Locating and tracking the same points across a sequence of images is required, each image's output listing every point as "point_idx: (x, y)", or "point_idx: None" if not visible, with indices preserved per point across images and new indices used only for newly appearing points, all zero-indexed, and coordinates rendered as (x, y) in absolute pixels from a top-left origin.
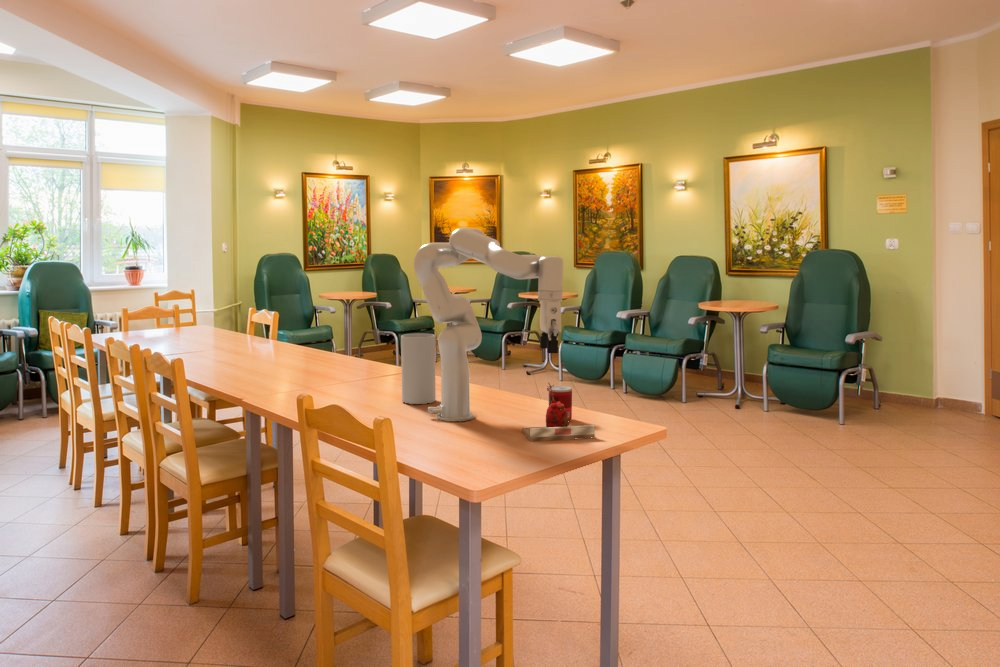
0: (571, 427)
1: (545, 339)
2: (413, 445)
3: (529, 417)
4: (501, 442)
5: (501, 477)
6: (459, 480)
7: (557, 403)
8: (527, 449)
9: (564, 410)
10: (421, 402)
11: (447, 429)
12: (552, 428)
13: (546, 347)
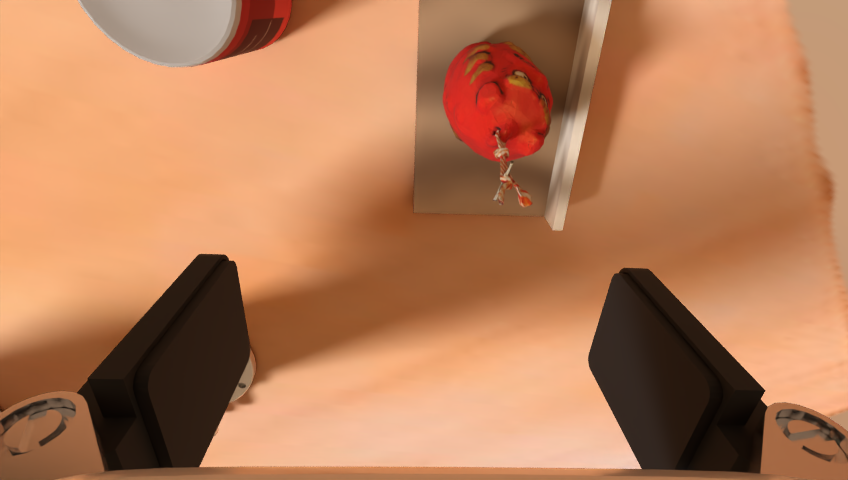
0: (598, 60)
1: (193, 402)
2: (481, 460)
3: (181, 120)
4: (526, 292)
5: (820, 348)
6: None
7: (521, 120)
8: (632, 242)
9: (546, 82)
10: None
11: (342, 390)
12: (579, 147)
13: (239, 303)
